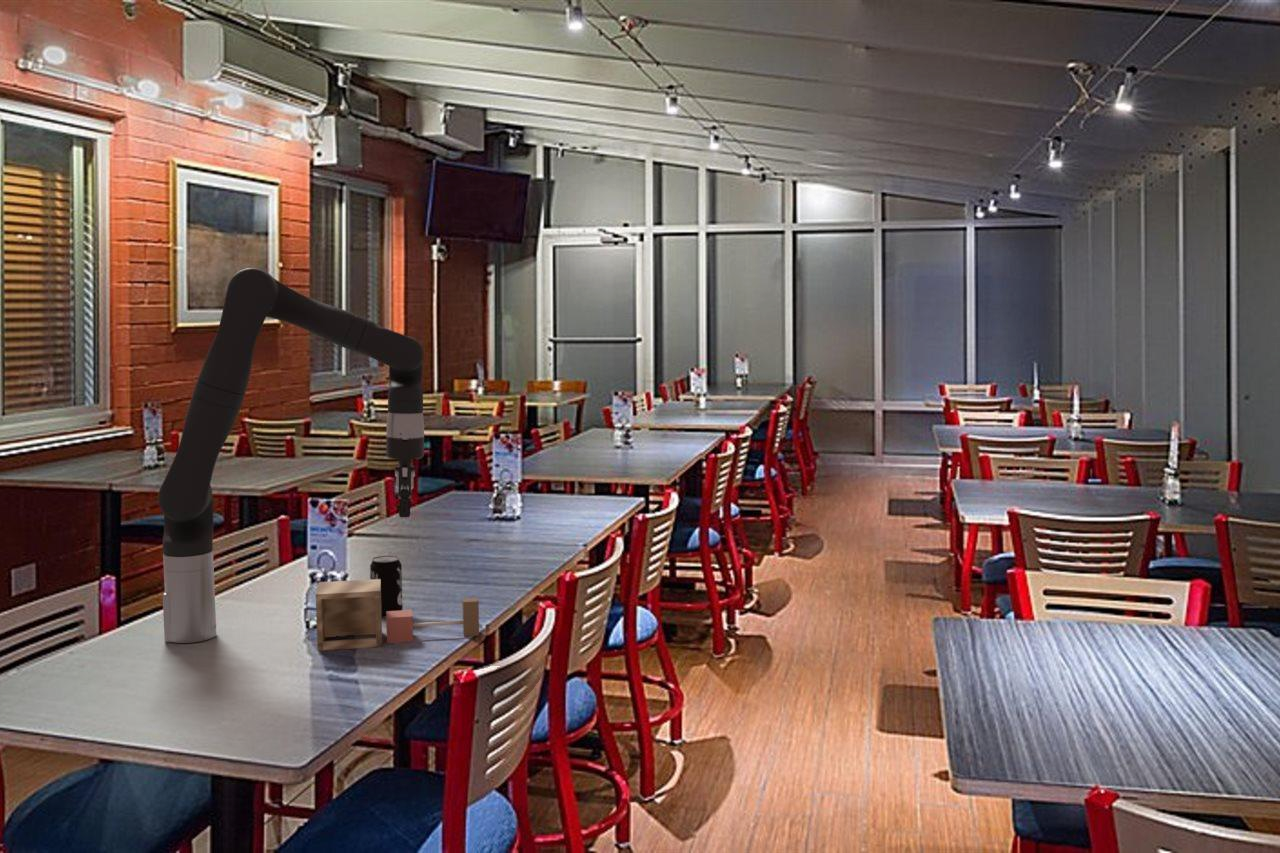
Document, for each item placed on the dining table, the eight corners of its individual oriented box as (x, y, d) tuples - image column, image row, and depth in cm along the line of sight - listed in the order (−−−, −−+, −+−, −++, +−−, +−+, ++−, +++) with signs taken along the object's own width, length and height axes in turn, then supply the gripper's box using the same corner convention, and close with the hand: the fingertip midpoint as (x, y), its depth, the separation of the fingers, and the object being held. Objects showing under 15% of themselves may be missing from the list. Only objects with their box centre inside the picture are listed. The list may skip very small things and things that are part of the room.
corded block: (386, 642, 228) (386, 607, 227) (386, 635, 232) (386, 601, 232) (479, 636, 231) (478, 602, 231) (477, 630, 236) (476, 596, 235)
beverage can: (395, 618, 246) (393, 562, 244) (366, 616, 247) (364, 560, 246) (407, 610, 252) (406, 555, 251) (379, 608, 253) (377, 554, 252)
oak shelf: (317, 650, 222) (315, 594, 221) (320, 636, 232) (318, 582, 231) (381, 646, 225) (380, 590, 224) (382, 632, 235) (380, 579, 233)
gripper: (387, 430, 243) (386, 507, 245) (385, 438, 229) (385, 519, 231) (423, 431, 244) (422, 507, 246) (424, 438, 231) (423, 519, 232)
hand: (404, 513), depth 238 cm, fingers open, 8 cm apart
